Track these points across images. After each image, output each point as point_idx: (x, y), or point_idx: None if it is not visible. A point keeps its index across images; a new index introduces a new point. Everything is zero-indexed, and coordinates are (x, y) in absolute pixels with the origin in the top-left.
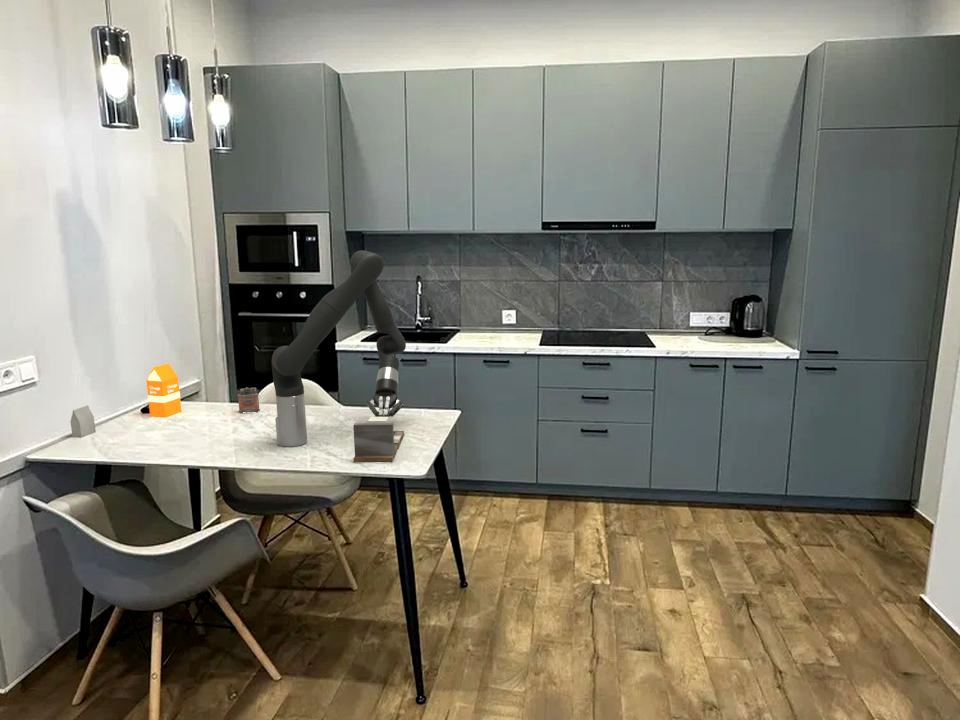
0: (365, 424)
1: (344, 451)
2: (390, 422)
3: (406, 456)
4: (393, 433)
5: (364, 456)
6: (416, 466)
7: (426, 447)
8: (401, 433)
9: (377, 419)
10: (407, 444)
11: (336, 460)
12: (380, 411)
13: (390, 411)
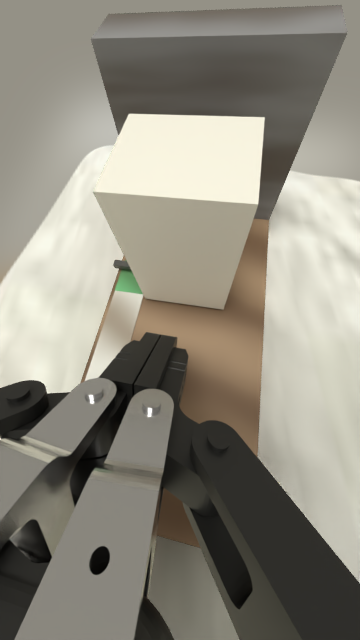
0: (262, 15)
1: (326, 294)
2: (107, 36)
3: (107, 223)
4: (117, 122)
5: None
6: (97, 162)
7: (23, 289)
8: None
9: (189, 142)
10: (78, 334)
11: (328, 216)
12: (149, 432)
13: (23, 394)
